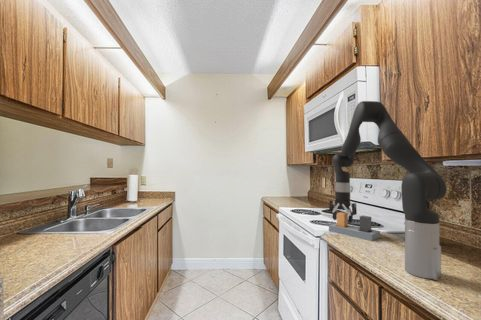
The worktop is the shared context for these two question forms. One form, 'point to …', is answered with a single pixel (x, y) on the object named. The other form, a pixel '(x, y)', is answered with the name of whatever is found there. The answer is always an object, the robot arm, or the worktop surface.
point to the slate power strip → (358, 229)
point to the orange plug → (342, 219)
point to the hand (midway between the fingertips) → (342, 221)
